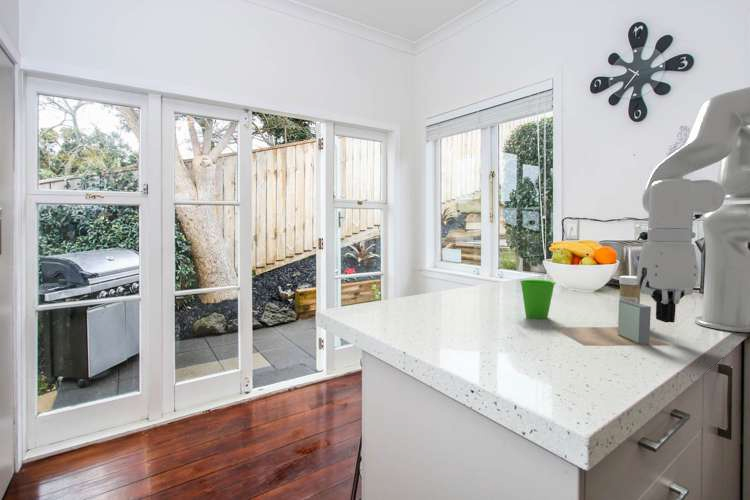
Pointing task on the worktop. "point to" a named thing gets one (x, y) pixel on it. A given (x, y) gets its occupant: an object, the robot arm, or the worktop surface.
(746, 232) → the robot arm
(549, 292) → the cup
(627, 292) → the sprinkles bottle
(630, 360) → the worktop surface
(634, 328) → the tile
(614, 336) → the board
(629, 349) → the worktop surface
